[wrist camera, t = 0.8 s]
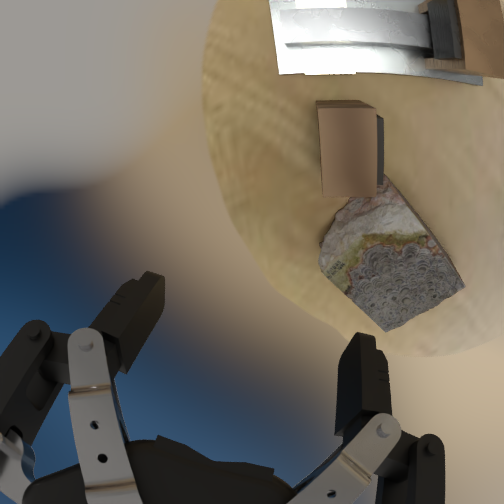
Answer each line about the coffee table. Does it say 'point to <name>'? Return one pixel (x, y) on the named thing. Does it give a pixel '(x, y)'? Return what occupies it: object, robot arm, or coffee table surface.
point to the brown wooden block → (350, 148)
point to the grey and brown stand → (391, 37)
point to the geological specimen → (387, 258)
